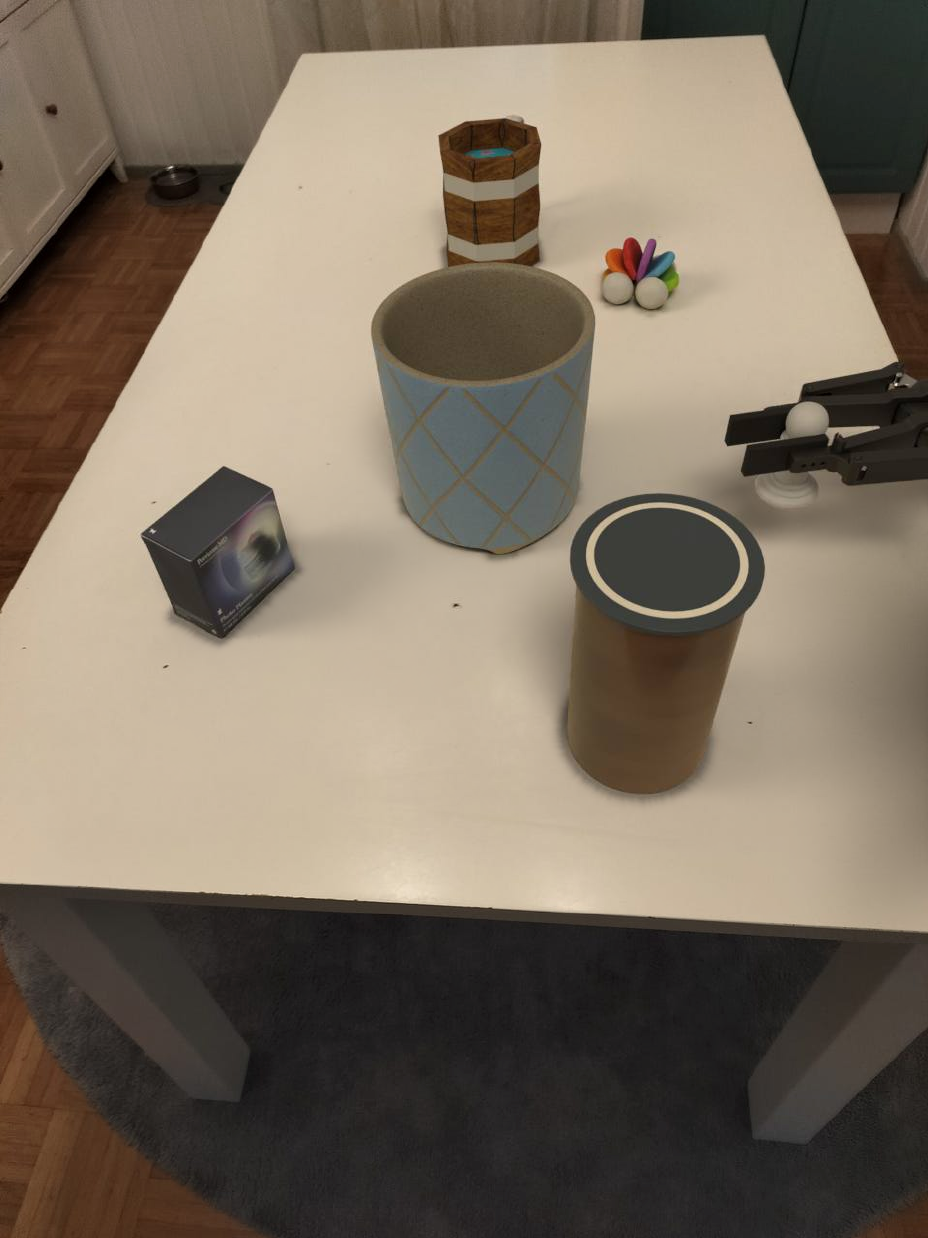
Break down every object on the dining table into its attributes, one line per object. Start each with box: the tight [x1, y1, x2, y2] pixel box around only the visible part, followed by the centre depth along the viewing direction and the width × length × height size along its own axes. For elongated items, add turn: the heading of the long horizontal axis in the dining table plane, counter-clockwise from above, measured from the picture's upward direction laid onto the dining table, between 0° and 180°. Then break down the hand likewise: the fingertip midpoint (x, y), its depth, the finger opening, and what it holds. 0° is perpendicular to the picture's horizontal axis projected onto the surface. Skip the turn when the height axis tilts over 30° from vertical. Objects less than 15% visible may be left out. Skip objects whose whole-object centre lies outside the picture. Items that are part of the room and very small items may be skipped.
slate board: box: [569, 492, 766, 636], centre depth 55 cm, size 12×12×1 cm
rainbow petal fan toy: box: [601, 236, 680, 310], centre depth 110 cm, size 8×10×7 cm
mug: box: [437, 114, 542, 267], centre depth 117 cm, size 20×14×15 cm
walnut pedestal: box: [566, 584, 746, 795], centre depth 63 cm, size 11×11×20 cm
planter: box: [370, 262, 596, 555], centre depth 82 cm, size 19×19×20 cm
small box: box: [140, 465, 296, 639], centre depth 79 cm, size 11×6×10 cm, turn 147°
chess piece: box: [754, 402, 829, 511], centre depth 74 cm, size 5×5×9 cm
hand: (737, 445), depth 72 cm, fingers closed on chess piece, 3 cm apart
